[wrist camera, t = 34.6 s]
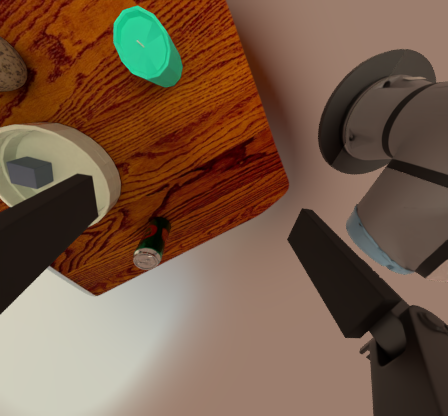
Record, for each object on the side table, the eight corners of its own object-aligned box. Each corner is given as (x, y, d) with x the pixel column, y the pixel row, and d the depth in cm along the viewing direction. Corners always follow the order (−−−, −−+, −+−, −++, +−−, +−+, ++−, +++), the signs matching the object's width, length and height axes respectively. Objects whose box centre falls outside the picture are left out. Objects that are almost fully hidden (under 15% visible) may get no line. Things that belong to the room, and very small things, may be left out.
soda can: (170, 234, 45) (159, 272, 35) (149, 231, 44) (131, 270, 34) (172, 217, 43) (160, 253, 32) (150, 214, 42) (130, 250, 31)
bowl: (126, 143, 34) (112, 150, 29) (118, 223, 42) (107, 238, 38) (2, 104, 29) (-38, 103, 25) (22, 202, 38) (-5, 215, 33)
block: (51, 162, 34) (34, 168, 30) (53, 181, 36) (37, 189, 32) (26, 156, 33) (5, 161, 30) (30, 175, 35) (10, 183, 31)
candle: (141, 37, 27) (97, -7, 16) (181, 42, 27) (165, 2, 17) (146, 85, 30) (113, 74, 19) (183, 89, 30) (170, 79, 20)
